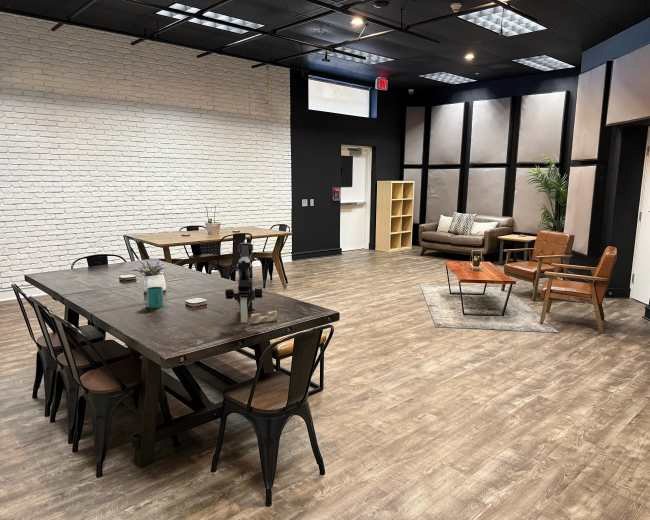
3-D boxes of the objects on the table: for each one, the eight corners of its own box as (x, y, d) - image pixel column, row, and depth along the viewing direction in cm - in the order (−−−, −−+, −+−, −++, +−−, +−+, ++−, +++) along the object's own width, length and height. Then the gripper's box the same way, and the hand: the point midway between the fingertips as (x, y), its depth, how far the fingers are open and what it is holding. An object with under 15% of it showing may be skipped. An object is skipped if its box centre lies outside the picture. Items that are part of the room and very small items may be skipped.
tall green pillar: (241, 318, 248) (241, 297, 246) (247, 318, 249) (246, 297, 247) (241, 322, 241) (240, 301, 240) (247, 322, 242) (246, 300, 240)
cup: (151, 310, 278) (150, 291, 276) (146, 306, 287) (144, 287, 286) (167, 308, 283) (166, 289, 281) (161, 303, 292) (160, 285, 291)
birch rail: (252, 323, 251) (252, 315, 250) (251, 322, 252) (251, 314, 252) (277, 319, 257) (277, 311, 257) (275, 319, 259) (275, 310, 258)
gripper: (224, 273, 245) (223, 300, 236) (261, 272, 247) (262, 299, 238) (226, 285, 254) (225, 311, 245) (262, 284, 256) (262, 310, 247)
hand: (243, 307), depth 244 cm, fingers closed on tall green pillar, 3 cm apart
